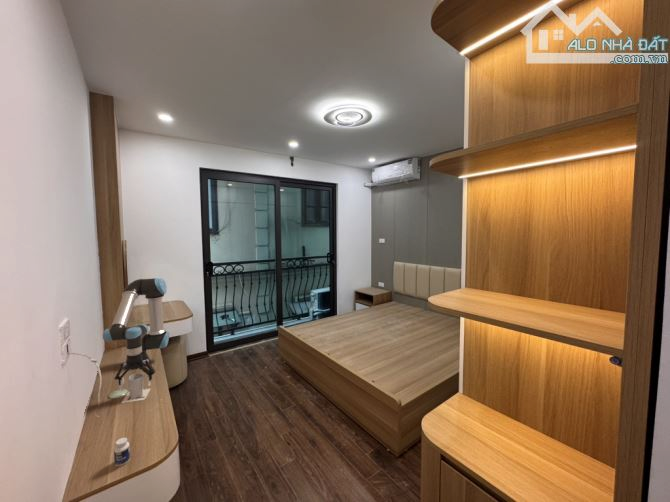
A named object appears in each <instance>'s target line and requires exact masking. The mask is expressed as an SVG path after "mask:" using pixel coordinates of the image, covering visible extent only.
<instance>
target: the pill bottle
mask: <svg viewBox="0 0 670 502" xmlns="http://www.w3.org/2000/svg"><path fill="white" fill-rule="evenodd" d="M130 450H131V449H130V442H129V441H128V438H127V437H121V438H119V439H118V440H116V441H115V447H114V448H113V457H114V458H113V460H114V462H113V463H114V466H115V467H122V466H124V465H126V464H128V462H130V460H131V451H130Z"/></svg>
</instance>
